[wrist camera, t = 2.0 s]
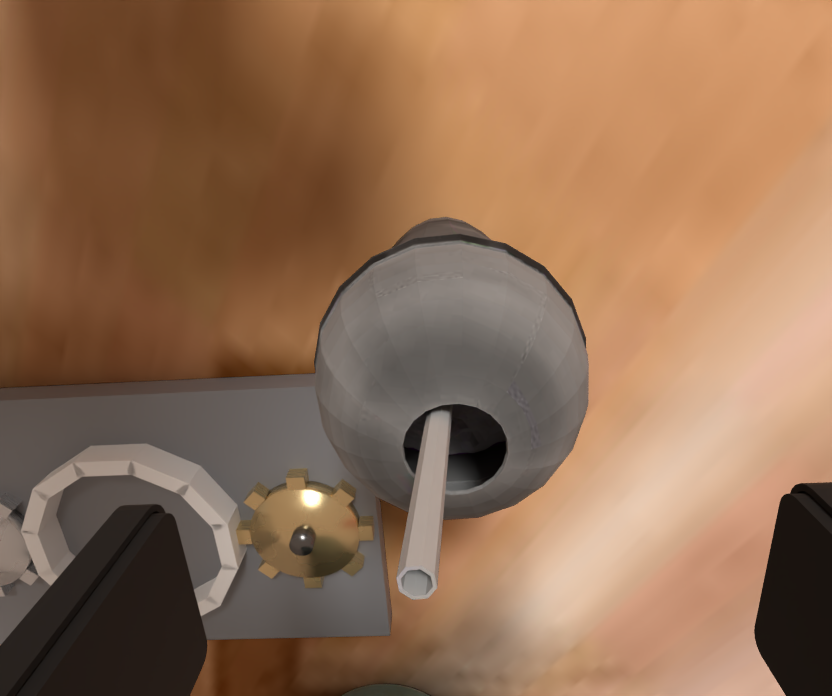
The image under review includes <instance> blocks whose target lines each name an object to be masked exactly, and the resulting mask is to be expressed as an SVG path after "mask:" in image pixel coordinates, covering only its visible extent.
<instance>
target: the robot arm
mask: <svg viewBox="0 0 832 696" xmlns="http://www.w3.org/2000/svg"><path fill="white" fill-rule="evenodd" d="M754 633H755V640H756V644H757V647H758V650H759V652H760V654H761V656H762V658H763V659H764V661H765V662H766V664H767V666H768V667H769V669H770V671H771V672H772V674H773V675H774V677H775V679H776V680H777V682H778V683H779V685H780V687H781V688H782V690H783V692H784V693H785V695H786V696H832V482H829V483H800V484H797V485H795V486H794V487H793V488H792V490H791V493H790V494H786V495H784V496H783V497H782V498H781V501H780V504H779V509H778V514H777V519H776V524H775V529H774V534H773V539H772V544H771V549H770V554H769V559H768V564H767V569H766V574H765V578H764V583H763V588H762V593H761V598H760V603H759V608H758V613H757V618H756V623H755V630H754ZM206 652H207V638H206V634H205V630H204V626H203V622H202V619H201V615H200V611H199V607H198V603H197V599H196V596H195V592H194V588H193V584H192V580H191V577H190V573H189V569H188V565H187V561H186V557H185V554H184V550H183V546H182V542H181V538H180V535H179V531H178V527H177V523H176V520H175V517H174V516H173V515H172V514H170V513H166V512H165V510H164V508H163V507H162V506H161V505H158V504H143V505H123V506H120V507H118V508H117V509H116V510H115V511H114V512H113V513H112V514H111V516H110V517H109V518H108V519H107V520H106V522H105V523H104V524H103V525H102V526H101V527H100V529H99V530H98V531H97V532H96V533H95V534H94V536H93V537H92V538H91V539H90V540H89V542H88V543H87V544H86V545H85V546H84V547H83V549H82V550H81V551H80V552H79V553H78V555H77V556H76V557H75V558H74V559H73V560H72V562H71V563H70V564H69V565H68V566H67V567H66V569H65V570H64V571H63V572H62V573H61V575H60V576H59V577H58V578H57V579H56V580H55V582H54V583H53V584H52V585H51V586H50V588H49V589H48V590H47V591H46V592H45V593H44V595H43V596H42V597H41V598H40V599H39V600H38V602H37V603H36V604H35V605H34V606H33V608H32V609H31V610H30V611H29V612H28V613H27V615H26V616H25V617H24V618H23V619H22V621H21V622H20V623H19V624H18V625H17V626H16V628H15V629H14V630H13V631H12V632H11V633H10V635H9V636H8V637H7V638H6V639H5V641H4V642H3V643H2V644H1V645H0V696H190V694H191V692H192V690H193V687H194V685H195V683H196V680H197V678H198V676H199V674H200V671H201V669H202V667H203V664H204V661H205V657H206Z"/></svg>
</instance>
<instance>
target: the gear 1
mask: <svg viewBox="0 0 832 696" xmlns="http://www.w3.org/2000/svg"><path fill="white" fill-rule="evenodd" d="M21 503H22V500H20V499H19V498H17V497H16V496H14V495H12V494H11V493H9V492H6V493H4V494H3V495H2V496H1V497H0V597H2V596H6V595H7V594H8V593H9V592H10V590H11V589H12V588H13V587H14V586H15V584H14V581H16V580H17V579H18V578H19V579H20V580H22V581H24V582H25V583H27V584H29V585H32V584H33V583H34V582H35V580H36V579H37V578H38V577H39V575H38V573H37V570H36V568H35V565H34V563H33V560H32V558H31V555H30V553H29V550H28V548H27V545H26V543H25V540H24V538H23V535H22V533H21V529H22V525H23V522H24V518H25V517H24V516H23V515H22V514H21V513H20V512H19V511H18V510H16V509H17V508H18V507H19V505H20V504H21Z"/></svg>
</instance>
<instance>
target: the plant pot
mask: <svg viewBox="0 0 832 696" xmlns="http://www.w3.org/2000/svg"><path fill="white" fill-rule="evenodd" d="M342 696H429V695H428V694H426V693H424V692H422V691H419V690H417V689H414V688H411V687H407V686H402V685H396V684H374V685H367V686H363V687H359V688H356V689H354V690H351V691H349V692H347V693H345V694H343V695H342Z"/></svg>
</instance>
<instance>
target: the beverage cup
mask: <svg viewBox="0 0 832 696" xmlns="http://www.w3.org/2000/svg"><path fill="white" fill-rule="evenodd" d="M314 365H315V371H316V372H315V390H316V396H317V401H318V406H319V411H320V416H321V421H322V426H323V429H324V431H325V433H326V436H327V437H328V439H329V441H330V443H331V444H332V446H333V448H334V449H335V451H336V453H337V455H338V456H339V458H340V460H341V462H342V463H343V465H344V467H345V468H346V469H347V470H348V471H349V472H350V473H351V474H352V475H353V476H354V477H355V478H356V479H358V480H359V481H360V482H361V483H362V484H363V485H364V486H365V487H366V488H367V489H369V490H370V491H371V492H372V493H373V494H374V495H375V496H376V497H378V498H380V499H382V500H384V501H386V502H388V503H390V504H392V505H394V506H396V507H398V508H400V509H402V510H404V511H406V512H408V518H407V523H406V529H405V534H404V539H403V545H402V550H401V556H400V561H399V566H398V572H397V577H396V579H397V583H398V588H399V591H400V592H401V593H403V594H404V595H406V596H407V597H409V598H410V599H412V600H415V599H427V598H429V597H430V595H431V594H432V593H433V592H434V591H435V590H436V589H437V584H438V572H439V560H440V548H441V537H442V525H443V519H444V520H450V519H464V518H479V517H482V516H485V515H487V514H490V513H493V512H496V511H499V510H502V509H505V508H508V507H511V506H514V505H516V504H517V503H519V502H520V501H522V500H523V499H525V498H526V497H528V496H529V495H530V494H532V493H533V492H535V491H536V490H538V489H539V488H541V487H542V486H544V485H545V484H546V482H547V481H548V480H549V479H550V477H551V476H552V475H553V474H554V472H555V471H556V470H557V469H558V467H559V466H560V465H561V464H562V462H563V461H564V460H565V459H566V457H567V456H568V455H569V453H570V452H571V451H572V449H573V447H574V444H575V441H576V439H577V436H578V433H579V430H580V428H581V425H582V422H583V420H584V417H585V414H586V410H587V407H588V354H587V351H586V337H585V334H584V331H583V329H582V326H581V323H580V320H579V318H578V315H577V312H576V309H575V307H574V304H573V301H572V299H571V298H570V297H569V295H568V294H567V293H566V292H565V291H564V289H563V288H562V287H561V286H560V285H559V283H558V282H557V281H556V280H555V279H554V277H553V276H552V275H551V274H550V273H549V271H548V270H547V269H546V268H545V267H544V266H543V265H541V264H539V263H538V262H536V261H534V260H533V259H531V258H529V257H528V256H526V255H524V254H523V253H521V252H519V251H518V250H516V249H514V248H513V247H511V246H509V245H508V244H506V243H501V242H497V241H492V240H491V239H489V238H488V237H487V236H486V235H485V234H484V233H482V232H481V231H480V230H478V229H476V228H475V227H473V226H471V225H470V224H468V223H466V222H464V221H462V220H457V219H453V218H448V217H443V218H434V219H429V220H427V221H424V222H422V223H420V224H418V225H416V226H415V227H413V228H411V229H410V230H409V231H408V232H407V233H406V234H405V235H404V236H403V237H401V238H400V239H399V240H398V241H397V243H396V244H395V245H394V246H393V247H392V248H391V249H389V250H387V251H384V252H382V253H380V254H378V255H375V256H373V257H372V258H370V259H369V260H368V261H367V262H366V263H365V264H364V265H363V266H362V267H361V268H360V269H358V270H357V271H356V272H355V273H354V274H353V275H352V276H351V277H350V278H349V279H348V280H346V281H345V282H344V283H343V284H342V285H341V286H340V287H339V289H338V291H337V293H336V295H335V296H334V298H333V300H332V302H331V304H330V306H329V308H328V309H327V311H326V313H325V315H324V317H323V319H322V321H321V322H320V327H319V334H318V340H317V347H316V353H315V360H314Z"/></svg>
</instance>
